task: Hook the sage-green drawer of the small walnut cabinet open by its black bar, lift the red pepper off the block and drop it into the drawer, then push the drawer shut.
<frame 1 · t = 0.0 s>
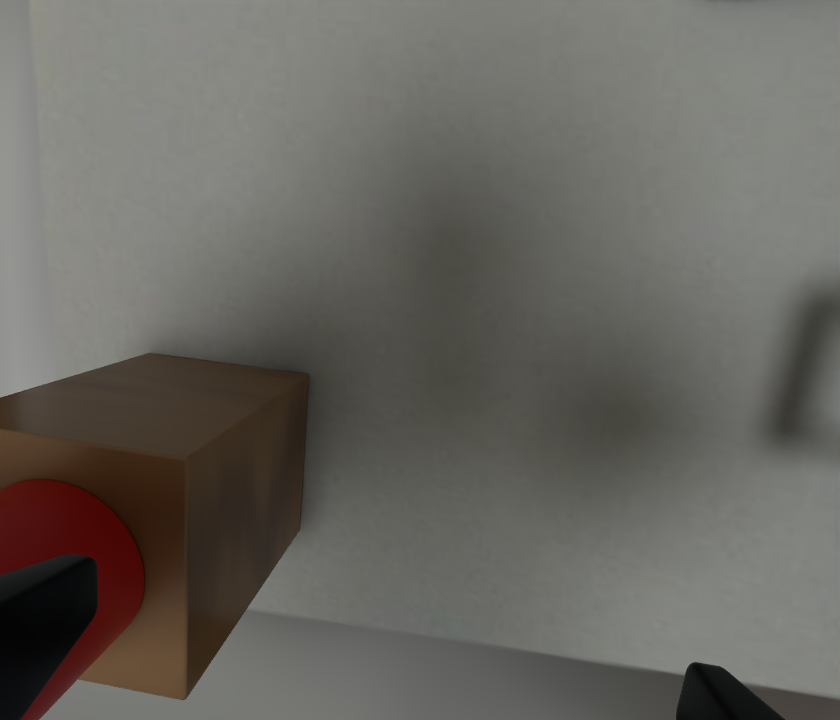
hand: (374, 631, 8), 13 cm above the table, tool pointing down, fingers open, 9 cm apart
block: (225, 443, 23), on the table
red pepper: (59, 564, 14), point 9 cm above the table, touching block
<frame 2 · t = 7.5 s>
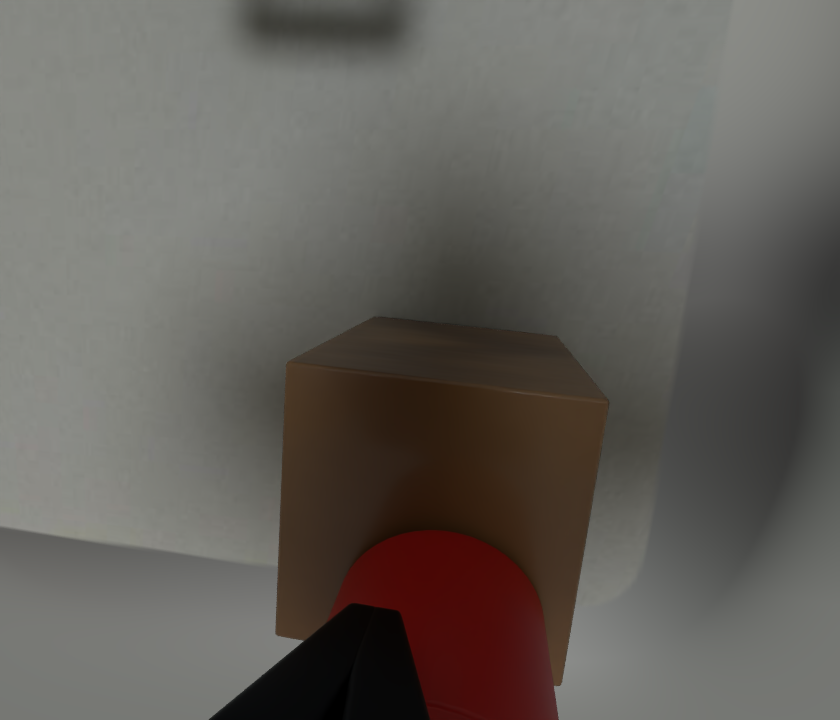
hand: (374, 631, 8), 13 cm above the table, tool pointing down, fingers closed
block: (454, 413, 21), on the table
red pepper: (438, 620, 12), point 9 cm above the table, touching gripper, block
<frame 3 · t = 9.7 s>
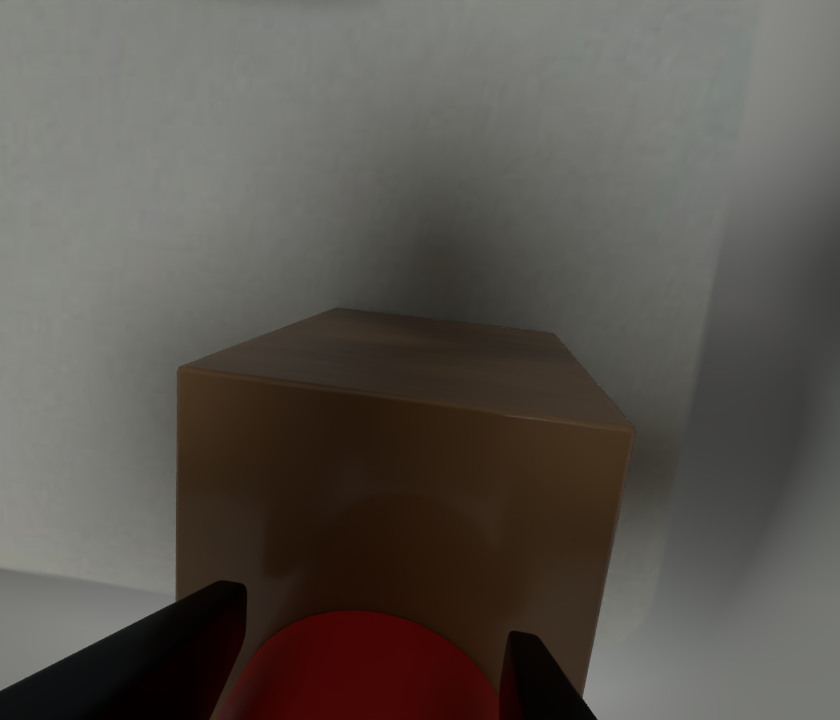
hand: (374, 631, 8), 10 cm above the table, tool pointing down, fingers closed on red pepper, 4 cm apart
block: (430, 425, 17), on the table
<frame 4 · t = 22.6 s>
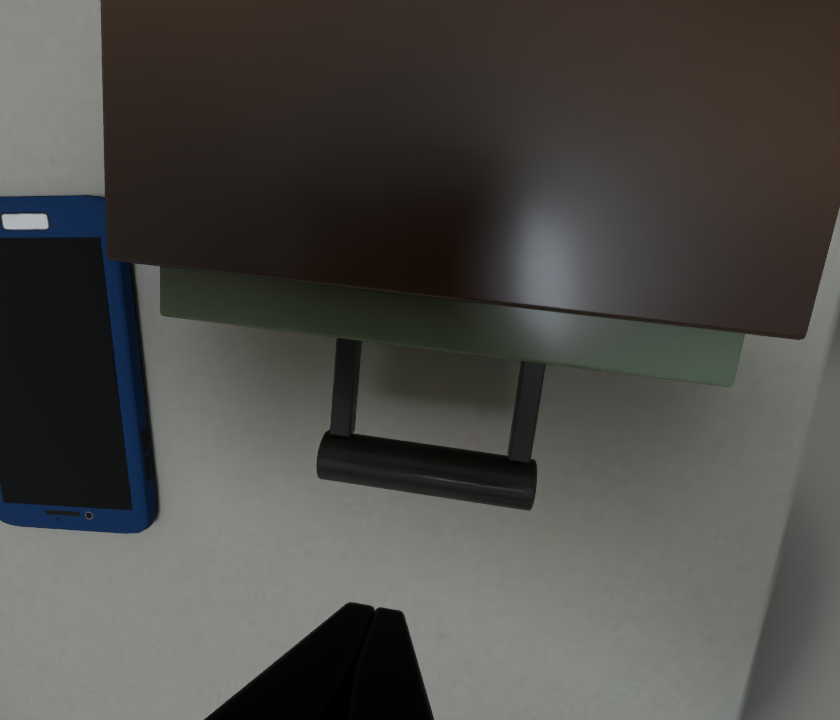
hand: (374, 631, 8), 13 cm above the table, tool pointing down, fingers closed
cell phone: (65, 369, 22), on the table
drawer: (467, 123, 14), point 5 cm above the table, slide at 0.0 cm, touching cabinet, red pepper
cabinet: (487, 26, 18), on the table
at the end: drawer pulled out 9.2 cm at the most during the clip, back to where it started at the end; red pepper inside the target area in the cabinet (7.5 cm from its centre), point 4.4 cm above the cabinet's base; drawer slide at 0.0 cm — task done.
